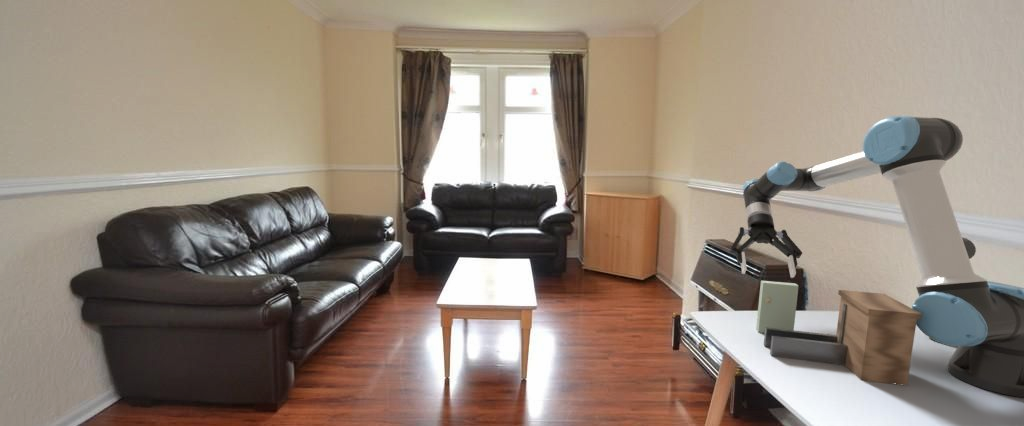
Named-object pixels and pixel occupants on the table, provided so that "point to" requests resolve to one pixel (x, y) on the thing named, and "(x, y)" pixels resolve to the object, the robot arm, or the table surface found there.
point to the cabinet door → (777, 305)
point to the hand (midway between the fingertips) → (768, 273)
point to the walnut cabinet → (876, 335)
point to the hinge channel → (805, 346)
